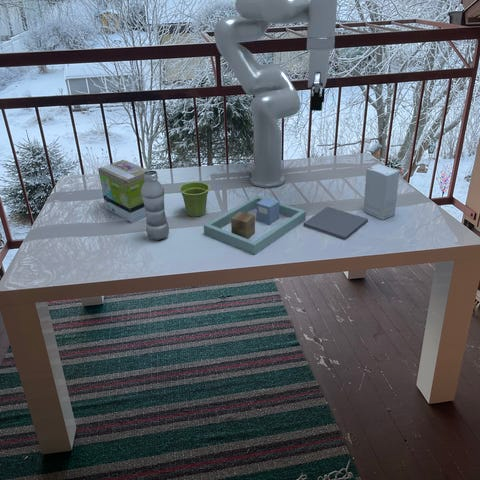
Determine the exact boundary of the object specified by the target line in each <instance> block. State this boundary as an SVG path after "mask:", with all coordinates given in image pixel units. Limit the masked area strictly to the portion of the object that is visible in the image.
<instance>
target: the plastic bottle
mask: <svg viewBox="0 0 480 480" xmlns="http://www.w3.org/2000/svg"><path fill="white" fill-rule="evenodd" d="M144 180H145V182H144V184H143V185H142V187H141V195H142V199H143V202H144V206H145V211H146V217H145V218H146V219H145V220H146V223H145V231H146V234H147V236H148V237H149V238H150V239H151V240H162V239H166V238H167V237H168V236H169V234H170V225H169V224H168V219H167V215H166V211H165V189H164V186H163V185H162V183H161V182H160V180H159V176H158V171H156V170H150V171H146V172H144Z"/></svg>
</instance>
